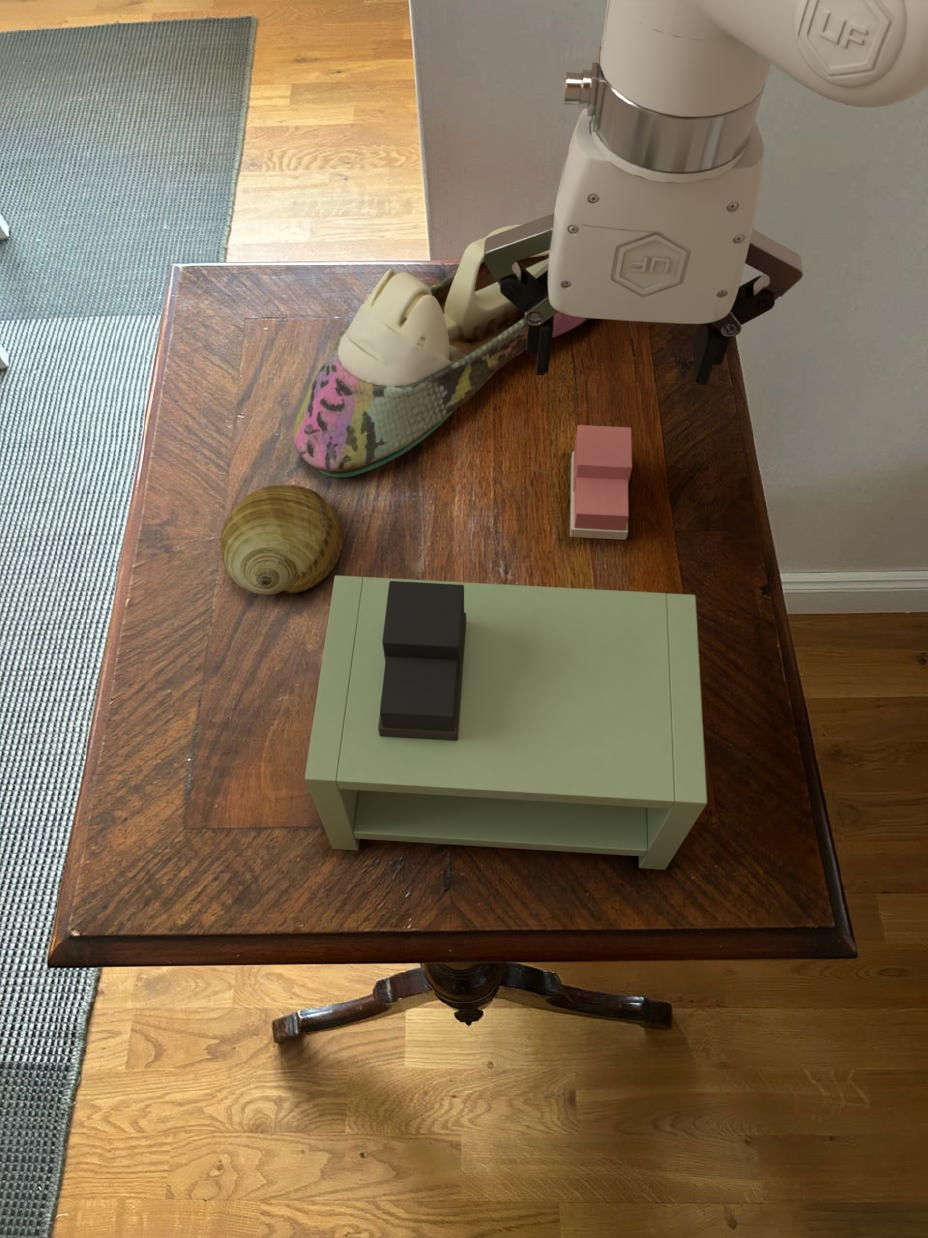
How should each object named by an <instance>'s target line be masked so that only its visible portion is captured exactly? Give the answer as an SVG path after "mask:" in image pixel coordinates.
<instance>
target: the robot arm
mask: <svg viewBox="0 0 928 1238" xmlns="http://www.w3.org/2000/svg"><path fill="white" fill-rule="evenodd" d="M604 16H605V17H604V23H603V31H602V39H601V46H599V50H598V56H597V62H592V63H591V67H590V69H582V71H581V72H572V71H570V72H569V71H566V73H565V81H564V90H563V105H574V106H575V105H576V106H578V108H579V109H583V110H582V111H581V113H580V114H579V116H578V119H577V122H576V125H575V128H574V131H573V133H572V137H571V139H570V143H569V146H568V149H567V153H566V157H565V160H564V163H563V167H562V172H561V176H560V180H559V184H558V190H557V195H556V200H555V204H554V205H555V206H554V212H553V213H551V214H549V215H546V216H542V217H540V218H538V219H535V220H532V221H528V222H526V223H524V224H520V225H521V226H518V227H515V228H512V229H509V230H507V231H504V232H501V233H498V234H495V235H493V236H490V237H488V238H487V239H486V240H485V243H484V255H483V259H484V262H485V264H486V265H487V267H488V269H489V270H490V272H491V274H492V276H493V277H494V279H495V280H497V282H498V284H499V285H500V292H501V293H502V295H504V296H505V297H506V298H507V299H508V300H509V301H510V302H512V303H513V304H514V305H515V306H516V307H517V308H519V309H520V310H521V311H522V312H523V313H524V314H525V321H526V322H527V323H528V331H527V345H526V350H525V355H526V354H528V355H536V367H535V375H536V376H545V374H549V370H550V369H549V368H550V360H551V353H552V352H551V351H552V345H553V338H552V336H553V322H554V315H555V314H556V313H557V312H561V313H564V314H566V315H570V316H575V317H584V318H591V319H596V320H597V319H598V320H613V321H625V322H628V321H629V322H642V323H643V322H645V323H660V324H661V323H663V324H681V325H682V324H684V325H698V327H697V332H696V335H695V338H694V341H693V345H692V363H693V365H692V366H693V381H694V383H696V384H697V385H700V386H707V385H708V382H709V379H710V376H711V374H712V371H713V367H714V366H721V365H722V364H723V362H724V358H725V356H726V352H727V349H728V346H729V343H730V340H731V338H733V337H736V336H738V335H739V334H740V333H741V332H742V326H743V325H744V324H746V323H747V324H748V322H750V321H752V320H754V319H755V318H758V317H759V316H761V315H763V314H766V313H767V312H769V311H770V310H772V309H773V308H774V307H775V304H776V300H777V299H779V298H780V297H781V298H782V297H783V296H784V295H785V294H786V293H788V292H789V291H790V290H791V289H792V288H794V286H795V285H796V284H798V283H799V282H800V281H801V280H802V278H803V277H804V270H803V269H804V268H803V263H802V262H803V261H802V257H801V255H800V254H799V253H798V252H795V251H794V250H792V249H790V248H788V247H786V246H785V245H782V244H781V243H779V242H777V241H775V240H773V239H772V238H771V237H769V236H767V235H765V234H763V233H762V232H760V231H758V230H755V228H754V225H755V221H756V215H757V209H758V204H759V198H760V193H761V187H762V186H761V185H762V180H763V179H762V178H763V171H764V154H765V153H764V152H765V148H764V147H765V146H764V142H763V139H762V136H761V130H760V127H759V125H758V123H757V122H756V118H757V114H758V111H759V107H760V104H761V100H762V97H763V93H764V90H765V87H766V82H767V80H768V76H769V73H770V70H771V66H772V65H773V66H774V67H775V68H777V69H778V70H779V71H781V72H782V73H783V74H785V75H786V76H788V77H790V78H791V79H792V80H794V81H795V82H797V83H799V84H800V85H802V86H803V87H805V88H807V89H808V90H810V91H812V92H814V93H815V94H817V95H819V96H821V97H822V98H825V99H828V100H830V101H834V102H836V103H839V104H842V105H846V106H850V107H856V108H881V107H887V106H891V105H895V104H898V103H900V102H904V101H906V100H908V99H911V98H913V97H914V96H916V95H918V94H919V93H921V92H923V91H924V90H926V89H927V88H928V0H606V8H605V15H604ZM548 250H550V252H549V262H548V264H547V265H546V266H544V267H543V268H542V269H541V270H539V271H538V272H537V273H536V274H534V275H532V274H531V273H530V272H528V271H527V270H526V269H525V268H524V267H523V266H522V265H521V264H519V263H518V262H517V261H519V260H522V259H525V258H528V257H531V256H534V255H537V254H540V253H542V252H545V251H548ZM745 265H747V266H748V267H750V268H753V269H755V270H757V271H759V272H760V273H762V274H761V275H758V276H755V277H753V279H750V280H749V281H747V282H745V283H743V284H742V285H741V282H742V278H743V274H744V270H745Z"/></svg>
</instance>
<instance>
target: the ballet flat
mask: <svg viewBox="0 0 928 1238" xmlns="http://www.w3.org/2000/svg"><path fill="white" fill-rule="evenodd" d="M521 225H522V224H512V225H507V226H503V227H499V228H497V229H494V230H493V231H492V232H489V234H488V235H487V236H485V237H483V238H480V239H478V240H474V241H473V242H471V243H470V244H469V245H467V247H466V249H465V250H464V252H463V255H462V257H461V260H460V263H459V265H458V267H457V270H456V273H454V274H452V275H451V276H450V275H449V276H448V277H446V278H444V279H443V280H440V281H439V282H437V283H436V284H433V285H430V287H429V286H428V285H426V284H425V283H424V281H422V280H420V279H418V278H417V277H415V275H412V274H411V273H409V272H406V271H401V272H398V273H395V271H394V269H393V268H389V269H388V270H387V271H386V272H385V273H384V274H383V276H382V277H381V279H380V280H379V281H378V283H376V286H375V287H374V288H373V289H372V291H371V293H370V294H369V295H368V296H367V299H366V300H365V301H364V302H362V304H361V305H360V306H359V309H358V310H357V312H356V314H355V315H354V317H353V319H352V321H351V322H350V324H349V325H348V326H347V327H346V328H344V330H342V331H341V332H340V333H339V335H337V337H336V338H335V340H334V342H333V344H332V346H331V349H330V352H329V353H328V356H327V358H326V359H325V361H324V362H323V364H322V366H321V368H320V369H319V371H318V373H317V375H316V377H315V379H314V380H313V382H312V384H311V386H310V388H309V389H308V392H307V394H306V396H305V398H304V400H303V402H302V404H301V407H300V409H299V412H298V415H297V417H296V421H295V426H294V443H295V447H296V449H297V453H299V455H300V456H301V458H303V460H304V461H305V462H306V463H308V465H310V466H311V467H312V468H314V469H315V470H317V471H319V472H320V473H322V474H323V475H325V476H328V477H332V478H349V477H355V476H358V475H360V474H363V473H366V472H369V471H371V470H374V469H377V468H379V467H380V466H383V465H385V464H387V463H389V462H391V461H393V460H395V459H396V458H398V457H400V456H402V455H404V454H405V453H407V452H409V451H410V450H411V449H413V448H414V447H416V446H417V445H418V444H419V443H421V442H422V441H423V440H424V439H426V438H427V437H428V436H429V435H431V434H433V432H434V431H436V430H437V429H438V428H439V427H440V426H441V425H442V424H443V423H444V422H445V421H446V420H447V419H448V418H449V417H450V416H451V415H452V414H453V413H454V412H455V411H456V410H457V409H459V408H460V407H461V406H462V405H463V404H464V403H466V402H467V401H468V400H470V399H472V398H473V397H474V396H475V395H476V394H477V392H479V390H480V389H481V388H482V387H483V386H484V385H485V384H486V383H487V382H488V380H490V378H491V377H493V375H494V374H495V373H497V372H498V371H499V370H500V369H502V367H504V366H505V365H506V364H507V363H508V362H510V361H512V360H513V359H515V358H516V357H518V356H519V355H521V354H522V353H523V352H524V351H526V345H527V331H528V323H527V322H526V321H525V314H524V313H523V312H522V311H521V310H520V309H519V308H517V307H516V306H515V305H514V304H513V303H512V302H510V301H509V300H508V299H507V298H506V297H505V296H504V295H502V293H501V292H500V285H499V284H498V282H497V280H495V279H494V277H493V276H492V274H491V272H490V270H489V269H488V267H487V265H486V264H485V262H484V259H483V255H484V243H485V240H486V239H487V238H488V237H490V236H493V235H495V234H498V233H501V232H504V231H507V230H509V229H512V228H515V227H518V226H521ZM549 252H550V250H548V251H545V252H542V253H540V254H537V255H534V256H531V257H528V258H525V259H522V260H519V261H517V262H518V263H519V264H521V265H522V266H523V267H524V268H525V269H526V270H527V271H528V272H530V273H531V274H532V275H534V274H536V273H537V272H538V271H539V270H541V269H542V268H543V267H544V266H546V265H547V264H548V262H549ZM591 319H592V318H584V317H575V316H570V315H566V314H564V313H561V312H557V313H556V314H555V315H554V322H553V336H552V339H553V338H556V337H559V336H561V335H563V334H565V333H567V332H569V331H571V330H574V329H575V328H577V327H578V326H580V325H581V324H584V323H585V322H587V321H590V320H591Z"/></svg>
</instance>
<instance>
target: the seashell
mask: <svg viewBox="0 0 928 1238" xmlns="http://www.w3.org/2000/svg"><path fill="white" fill-rule="evenodd" d="M219 543H220V545H219V549H220V550H219V551H220V555H221V560H222V563H223V565H224V568H225V571H226V573H227V574H228V576H229V577H230V578H231V580H232V581H233V582H234V583H235V584H236V585H238V587H241V588H242V589H243V590H245V591H248V592H250V593H254V594H256V595H268V596H270V595H271V596H272V595H273V596H274V595H276V594H278V593H281V592H283V591H284V592H287V594H296V593H301V592H305V591H308V590H310V589H311V588H312V587H315V586H316V585H320V584H321V583H322V581H324V579H325V578H328V576H330V574H331V573H332V571H333V569H335V567H337V563H338V561H339V560H340V559H341V554H342V548H343V535H342V528H341V525H340V522H339V519H338V517H337V515H336V513H335V511H334V510H333V508H332V507H331V506H330V504H329V503H328V502H327V501H326V500H325V499H324V497H322V496H321V495H320V494H319V493H317V492H316V491H314V490H313V489H311V488H308V487H305V486H301V485H296V484H274V485H273V484H272V485H267V486H264V487H261V488H259V489H257V490H255V491H253V492H252V493H250V494H248V495H247V496H245V497H244V498H243V499H241V500H240V501H239V502H238V503H237V504H236V506H235V507H233V509H232V510H231V512H230V513H229V514H228V516H227V518H226V520H225V522H224V524H223V526H222V530H221V533H220V542H219Z"/></svg>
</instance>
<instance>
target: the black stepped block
mask: <svg viewBox="0 0 928 1238" xmlns="http://www.w3.org/2000/svg"><path fill="white" fill-rule="evenodd" d="M465 633H466V613H464V585H457V584H438V583H420V582H401V581H390V582H389V589H388V597H387V606H386V614H385V623H384V631H383V640H382V644H383V650H384V657H385V670H384V679H383V687H382V696H381V705H380V717H379V725H378V730H379V735H380V736H384V737H401V738H417V739H434V740H451V741H457V740H458V730H459V716H460V702H461V688H462V675H463V661H464V647H465Z"/></svg>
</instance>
